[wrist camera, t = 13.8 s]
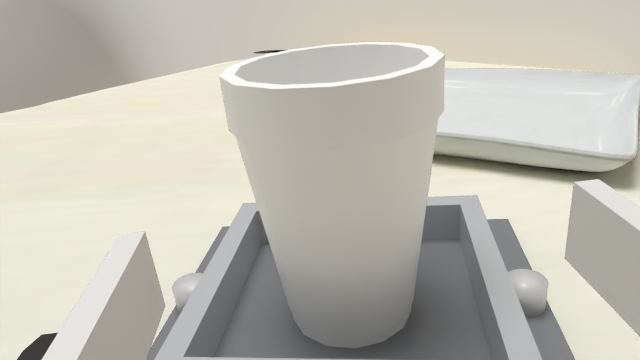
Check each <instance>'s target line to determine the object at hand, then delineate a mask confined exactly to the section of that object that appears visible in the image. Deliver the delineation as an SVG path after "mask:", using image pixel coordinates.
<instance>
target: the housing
mask: <svg viewBox="0 0 640 360" xmlns="http://www.w3.org/2000/svg"><path fill="white" fill-rule="evenodd" d="M172 289H173V293H174V297H175V301H176V306H175V308H174V310H173V311H172V313H171V315H170V316H169V318H168V320H167V321H166V323H165V325H164V326H163V328H162V330H161V331H160V333H159V335H158V337H157V338H156V340H155V342H154V343H153V345H152V347H151V348H150V350H149V353H148V356H147V359H146V360H575V358H574V356H573V354H572V352H571V350H570V348H569V346H568V344H567V342H566V340H565V337H564V335H563V333H562V331H561V329H560V327H559V325H558V323H557V321H556V319H555V317H554V314H553V312H552V310H551V308H550V306H549V304H548V302H547V300H546V298H547V289H548V281H547V279H546V278H545V277H544V276H543V275H542V274H540V273H538V272H536V271H533V270H532V269H531V266H530V264H529V262H528V260H527V258H526V256H525V254H524V252H523V250H522V248H521V246H520V243H519V241H518V239H517V237H516V235H515V233H514V231H513V229H512V227H511V225H510V223H509V220H508V219H491V220H487V219H486V217H485V214H484V211H483V209H482V206H481V204H480V201H479V199H478V196H477V195H473V196H443V197H427V204H426V212H425V219H424V226H423V233H422V241H421V248H420V255H419V262H418V270H417V277H416V284H415V291H414V299H413V302H412V304H411V308H412V310H411V313H410V315H409V317H408V319H407V321H406V323H405V326H404V328H402V329H401V330H400V331H398V332H397V333H395V334H394V335H392V336H391V337H389V338H388V339H387V340H385V341H384V342H381V343H376V344H372V345H368V346H364V347H360V348H355V349H354V348H343V347H333V346H325V345H323V344H321V343H319V342H317V341H315V340H313V339H311V338H309V337H307V336H305V335H304V334H303V333H302V331H301V330H300V328H299V327H298V325H297V324H296V322H295V321H294V319H293V313H292V312H291V310H290V308H289V305H288V301H287V298H286V295H285V292H284V289H283V286H282V282H281V279H280V276H279V273H278V270H277V267H276V263H275V260H274V257H273V254H272V251H271V247H270V244H269V241H268V238H267V235H266V232H265V228H264V225H263V222H262V219H261V216H260V212H259V209H258V206H257V203H243V204H242V206H241V208H240V210H239V212H238V213H237V215H236V217H235V219H234V220H233V222H232V224H231V226H230V227H222V229H221V231H220V232H219V234H218V236H217V237H216V239H215V241H214V242H213V244H212V246H211V247H210V249H209V251H208V252H207V254H206V256H205V258H204V259H203V261H202V263H201V264H200V266H199V268H198V269H197V271H196V273H191V274H187V275H185V276H182V277H181V278H179V279H177V280H176V281H175V282H174V284H173V286H172Z"/></svg>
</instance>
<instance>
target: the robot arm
mask: <svg viewBox="0 0 640 360" xmlns="http://www.w3.org/2000/svg"><path fill="white" fill-rule="evenodd" d="M565 259H566V260H567V261H568V262H569V263H570V264H571V265H572V266H573V268H574V269H575V270H576V271H577V272H578V273H579V274H580V275H581V276H582V277H583V278H584V279H585V280H586V281H587V282H588V283H589V284H590V285H591V286H592V287H593V288H594V289H595V290H596V291H597V292H598V293H599V295H600V296H601V297H602V298H603V299H604V300H605V301H606V302H607V303H608V304H609V305H610V306H611V307H612V308H613V309H614V310H615V311H616V312H617V313H618V314H619V315H620V316H621V317H622V318H623V319H624V320H625V322H626V323H627V324H628V325H629V326H630V327H631V328H632V329H633V330H634V331H635V332H636V333H637V334H638V335H639V336H640V207H639V206H638V205H636V204H635V203H633V202H632V201H630V200H629V199H627V198H626V197H624V196H623V195H621V194H620V193H618V192H617V191H615V190H614V189H612V188H611V187H609V186H608V185H607V184H605V183H604V182H602V181H601V180H599V179H595V180H587V181H578V182H574V186H573V194H572V202H571V210H570V218H569V226H568V235H567V243H566V251H565ZM164 308H165V303H164V299H163V295H162V292H161V288H160V284H159V281H158V277H157V273H156V270H155V266H154V262H153V259H152V255H151V251H150V248H149V244H148V240H147V237H146V233H145V231H144V232H135V233H127V234H119V236H118V238H117V239H116V241H115V242H114V244H113V246H112V247H111V249H110V250H109V252H108V254H107V255H106V257H105V258H104V260H103V262H102V263H101V265H100V266H99V268H98V270H97V271H96V273H95V274H94V276H93V278H92V279H91V281H90V282H89V284H88V286H87V287H86V289H85V291H84V292H83V294H82V295H81V297H80V299H79V300H78V302H77V303H76V305H75V307H74V308H73V310H72V311H71V313H70V315H69V316H68V318H67V319H66V321H65V323H64V324H63V326H62V327H61V329H60V331H59V332H58V333H52V334H44V335H41V336H40V337H39V338H38V339H36V340H35V341H34V342H33V343H32V344H31V345H29V346H28V347H27V348H26V349H25V350H24V351H23V352H22V353H21V355H20V356H19V358H18V359H17V360H146V359H147V356H148V353H149V350H150V347H151V345H152V342H153V339H154V336H155V333H156V330H157V328H158V325H159V322H160V319H161V316H162V314H163V311H164Z"/></svg>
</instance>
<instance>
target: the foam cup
mask: <svg viewBox="0 0 640 360" xmlns="http://www.w3.org/2000/svg"><path fill="white" fill-rule="evenodd" d="M444 57H445V55H444V54H442V53H441V52H440V51H438V50H437V49H436V48H434V47H429V46H423V45H417V44H411V43H387V42H364V43H350V44H349V43H348V44H333V45H323V46H315V47H308V48H300V49H293V50H287V51H282V52H277V53H273V54H268V55H263V56H259V57H254V58H251V59H248V60H246V61H243V62H240V63H237V64H235V65H232V66H229V67H228V68H227V69H226V70H225V71H224V72H223V73H222V74H221V75H220V76H219V78H220V83H221V89H222V94H223V100H224V106H225V111H226V117H227V122H228V128H229V131H230V132H231V133H232V134H233V135H235V136H236V139H237V143H238V146H239V149H240V152H241V155H242V158H243V162H244V165H245V168H246V171H247V174H248V178H249V181H250V184H251V187H252V190H253V193H254V197H255V200H256V203H257V206H258V209H259V212H260V216H261V219H262V222H263V225H264V228H265V232H266V235H267V238H268V241H269V244H270V247H271V251H272V254H273V257H274V260H275V263H276V267H277V270H278V273H279V276H280V279H281V282H282V286H283V289H284V292H285V295H286V298H287V301H288V305H289V308H290V310H291V312H292V313H293V319H294V321H295V322H296V324H297V325H298V327H299V328H300V330H301V331H302V333H303V334H304V335H305V336H307V337H309V338H311V339H313V340H315V341H317V342H319V343H321V344H323V345H325V346H333V347H343V348H354V349H355V348H360V347H364V346H368V345H372V344H376V343H381V342H384V341H385V340H387V339H388V338H389V337H391V336H392V335H394V334H395V333H397V332H398V331H400V330H401V329H402V328H404V326H405V323H406V321H407V319H408V317H409V315H410V313H411V310H412V308H411V304H412V302H413V299H414V291H415V284H416V277H417V270H418V262H419V255H420V248H421V241H422V233H423V226H424V219H425V212H426V204H427V197H428V190H429V183H430V175H431V168H432V161H433V154H434V147H435V139H436V132H437V125H438V118H439V117H440V116H441V114H442V113H443V112H444V62H445V59H444Z"/></svg>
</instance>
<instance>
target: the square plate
mask: <svg viewBox="0 0 640 360" xmlns="http://www.w3.org/2000/svg"><path fill="white" fill-rule="evenodd" d="M639 108H640V74H623V73H605V72H589V71H572V70H552V69H519V68H444V112H443V113H442V114H441V116H440V117H439V118H438V125H437V132H436V139H435V147H434V154H439V155H447V156H455V157H463V158H472V159H480V160H488V161H496V162H504V163H512V164H520V165H528V166H536V167H549V168H558V169H567V170H576V171H590V172H602V171H609V170H613V169H616V168H618V167H621V166H623V165H624V164H626V163H628V162H630V161H632V160H634V159H635V157H636V154H637V150H638V140H639V139H638V137H639Z"/></svg>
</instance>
